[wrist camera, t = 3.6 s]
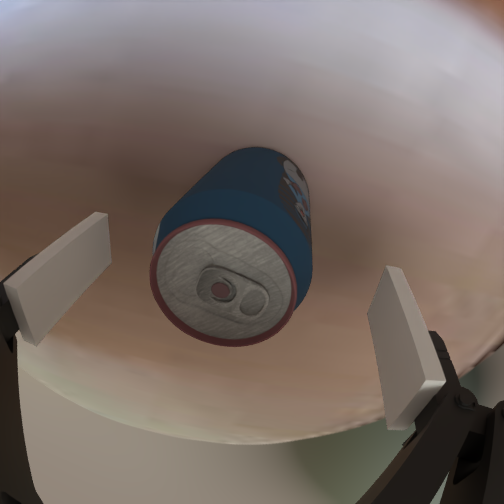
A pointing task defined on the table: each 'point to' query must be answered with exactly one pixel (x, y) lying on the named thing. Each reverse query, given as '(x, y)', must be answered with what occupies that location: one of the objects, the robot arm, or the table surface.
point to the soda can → (236, 250)
